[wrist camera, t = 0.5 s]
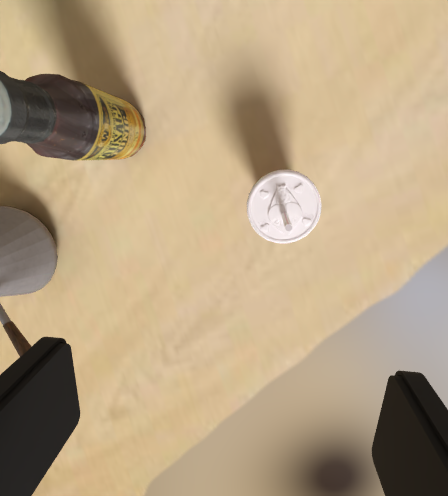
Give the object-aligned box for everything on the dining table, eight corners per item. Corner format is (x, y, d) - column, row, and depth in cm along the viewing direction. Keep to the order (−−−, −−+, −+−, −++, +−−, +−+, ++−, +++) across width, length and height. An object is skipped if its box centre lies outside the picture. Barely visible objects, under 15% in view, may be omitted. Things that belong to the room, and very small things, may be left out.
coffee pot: (-28, 248, 43) (-168, 299, 29) (8, 182, 40) (-131, 205, 26) (100, 342, 46) (28, 431, 32) (145, 288, 42) (87, 362, 28)
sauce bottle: (139, 167, 37) (17, 192, 19) (90, 144, 37) (-84, 147, 18) (157, 111, 35) (40, 75, 16) (105, 87, 35) (-74, 23, 16)
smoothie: (254, 223, 38) (250, 266, 25) (245, 168, 36) (237, 183, 23) (309, 214, 37) (336, 255, 24) (303, 158, 35) (329, 167, 22)
